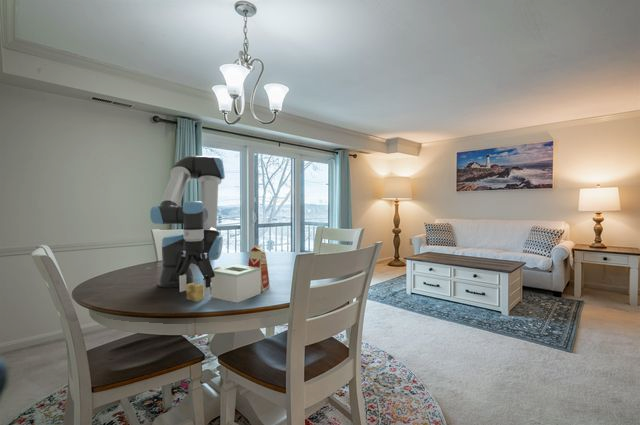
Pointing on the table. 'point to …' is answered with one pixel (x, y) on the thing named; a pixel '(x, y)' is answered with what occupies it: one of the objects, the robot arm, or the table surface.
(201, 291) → the cardboard box
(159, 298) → the table surface
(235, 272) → the coin box
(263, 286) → the milk carton
